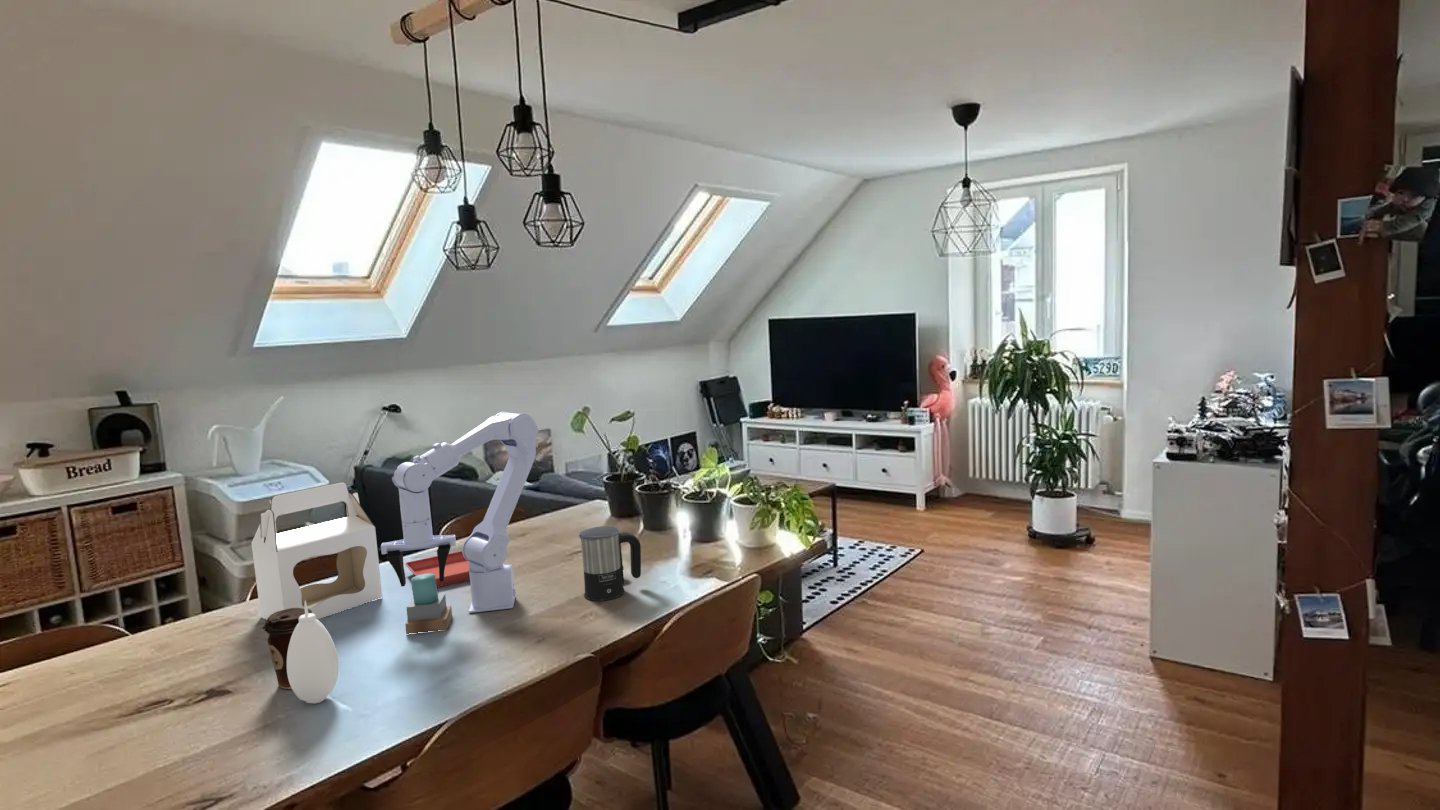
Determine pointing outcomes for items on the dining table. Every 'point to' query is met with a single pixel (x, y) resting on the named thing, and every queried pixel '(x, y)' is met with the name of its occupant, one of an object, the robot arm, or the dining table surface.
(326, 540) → the gable box
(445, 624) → the walnut slab
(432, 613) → the gray block
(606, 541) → the milk frother
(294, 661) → the sauce bottle
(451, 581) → the plant saucer
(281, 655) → the coffee cup
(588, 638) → the dining table surface
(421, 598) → the teal cylinder
